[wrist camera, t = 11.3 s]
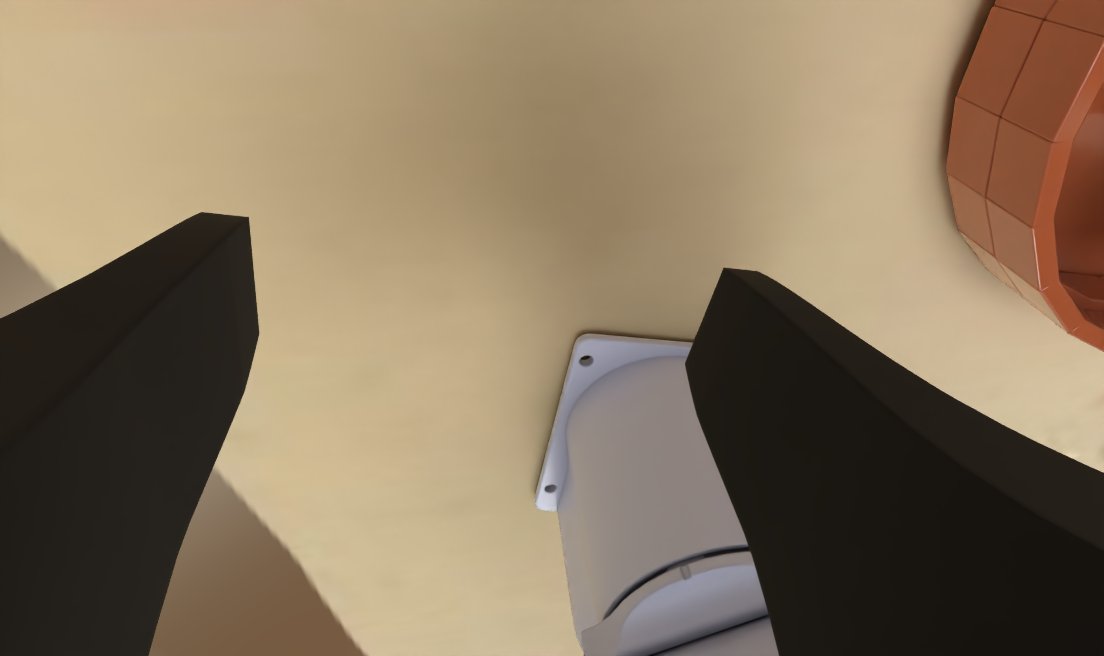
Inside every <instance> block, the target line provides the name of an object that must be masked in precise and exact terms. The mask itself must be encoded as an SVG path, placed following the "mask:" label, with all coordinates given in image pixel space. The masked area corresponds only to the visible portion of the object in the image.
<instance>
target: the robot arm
mask: <svg viewBox="0 0 1104 656" xmlns="http://www.w3.org/2000/svg"><path fill="white" fill-rule="evenodd" d="M258 337H259V325H258V314H257V303H256V292H255V281H254V270H253V259H252V248H251V237H250V226H249V217H242V216H232V215H223V214H214V213H204V212H201V213H198V214H196V215H194V216H192V217H190V218H188V219H186V220H184V221H182V222H181V223H179V224H177V225H175V226H173V227H172V228H170V229H168V230H166V231H165V232H163V233H161V234H159V235H158V236H156V237H154V238H152V239H151V240H149V241H147V242H145V243H144V244H142V245H140V246H139V247H137V248H135V249H133V250H131V251H130V252H128V253H126V254H124V255H123V256H121V257H119V258H117V259H115V260H114V261H112V262H110V263H108V264H107V265H105V266H103V267H101V268H99V269H98V270H96V271H94V272H92V273H90V274H89V275H87V276H85V277H83V278H81V279H79V280H77V281H75V282H73V283H71V284H69V285H67V286H65V287H63V288H61V289H59V290H57V291H55V292H53V293H51V294H49V295H47V296H45V297H43V298H41V299H39V300H37V301H35V302H34V303H31V304H29V305H27V306H25V307H23V308H21V309H19V310H17V311H15V312H13V313H11V314H9V315H7V316H5V317H3V318H0V656H148V655H149V651H150V648H151V644H152V641H153V637H154V633H155V630H156V626H157V623H158V620H159V616H160V613H161V609H162V606H163V603H164V599H165V596H166V593H167V589H168V586H169V582H170V579H171V576H172V572H173V569H174V566H175V562H176V558H177V555H178V553H179V550H180V547H181V545H182V542H183V539H184V536H185V534H186V531H187V528H188V526H189V523H190V521H191V518H192V516H193V514H194V511H195V509H196V506H197V504H198V501H199V499H200V497H201V495H202V492H203V490H204V487H205V485H206V483H207V480H208V478H209V476H210V473H211V471H212V468H213V466H214V464H215V461H216V459H217V457H218V454H219V452H220V450H221V447H222V445H223V442H224V440H225V438H226V435H227V433H228V430H229V428H230V426H231V423H232V421H233V418H234V416H235V414H236V411H237V409H238V406H239V404H240V401H241V399H242V396H243V394H244V391H245V388H246V384H247V380H248V377H249V373H250V369H251V365H252V361H253V357H254V353H255V349H256V345H257V341H258ZM586 355H589V356H591V357H590V358H589V359H587V360H582V359H580V358H581V357H583V356H586ZM551 484H552V485H551ZM548 485H550V486H548ZM535 506H536V507H537V508H538V509H540V510H543V511H558V518H559V525H560V532H561V539H562V546H563V553H564V560H565V567H566V574H567V581H568V588H569V595H570V602H571V609H572V616H573V623H574V628H575V632H576V636H577V639H578V641H579V644H580V646H581V648H582V650H583V652H584V656H1104V473H1103V472H1100V471H1098V470H1096V469H1093V468H1091V467H1089V466H1087V465H1085V464H1082V463H1080V462H1078V461H1076V460H1074V459H1072V458H1070V457H1068V456H1065V455H1063V454H1061V453H1059V452H1057V451H1055V450H1053V449H1051V448H1048V447H1046V446H1044V445H1042V444H1040V443H1038V442H1036V441H1034V440H1032V439H1030V438H1028V437H1026V436H1024V435H1022V434H1020V433H1018V432H1016V431H1014V430H1012V429H1010V428H1008V427H1006V426H1004V425H1002V424H1000V423H998V422H997V421H995V420H993V419H991V418H989V417H988V416H986V415H984V414H982V413H980V412H978V411H977V410H975V409H973V408H971V407H969V406H967V405H966V404H964V403H962V402H960V401H958V400H956V399H955V398H953V397H951V396H950V395H948V394H946V393H945V392H943V391H941V390H939V389H938V388H936V387H934V386H933V385H931V384H930V383H928V382H926V381H925V380H923V379H922V378H920V377H919V376H917V375H915V374H914V373H912V372H911V371H909V370H907V369H906V368H904V367H903V366H901V365H900V364H898V363H896V362H895V361H893V360H892V359H890V358H889V357H887V356H886V355H884V354H883V353H881V352H880V351H878V350H877V349H875V348H874V347H872V346H871V345H869V344H868V343H866V342H865V341H863V340H862V339H860V338H859V337H858V336H856V335H855V334H853V333H852V332H850V331H849V330H847V329H846V328H845V327H843V326H842V325H840V324H839V323H837V322H836V321H834V320H833V319H832V318H830V317H829V316H827V315H826V314H824V313H823V312H822V311H820V310H819V309H817V308H816V307H814V306H813V305H811V304H810V303H809V302H807V301H806V300H804V299H803V298H801V297H800V296H798V295H797V294H795V293H794V292H792V291H791V290H789V289H788V288H786V287H785V286H783V285H781V284H780V283H778V282H777V281H775V280H773V279H771V278H770V277H768V276H766V275H764V274H762V273H760V272H758V271H750V270H740V269H731V268H723V271H722V273H721V276H720V278H719V281H718V283H717V286H716V288H715V290H714V293H713V295H712V298H711V300H710V303H709V305H708V308H707V310H706V313H705V315H704V317H703V320H702V322H701V325H700V327H699V330H698V332H697V335H696V337H695V340H694V342H693V343H690V342H679V341H668V340H657V339H646V338H635V337H624V336H613V335H602V334H584V335H582V336H580V337H579V338H578V339H577V340H576V342H575V344H574V348H573V352H572V355H571V359H570V363H569V367H568V371H567V375H566V378H565V382H564V386H563V390H562V394H561V398H560V402H559V405H558V409H557V413H556V417H555V421H554V425H553V428H552V432H551V436H550V440H549V444H548V448H547V451H546V455H545V459H544V463H543V467H542V471H541V474H540V478H539V482H538V486H537V490H536V494H535Z"/></svg>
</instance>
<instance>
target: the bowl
mask: <svg viewBox="0 0 1104 656" xmlns="http://www.w3.org/2000/svg"><path fill="white" fill-rule="evenodd" d="M994 5H995V6H993V7H992V8H991V10H990V13H989V15H988V18H987V20H986V23H985V25H984V28H983V30H982V33H981V35H980V38H979V40H978V43H977V45H976V48H975V50H974V53H973V55H972V58H971V60H970V63H969V65H968V68H967V70H966V73H965V75H964V78H963V80H962V83H961V85H960V88H959V90H958V93H957V95H958V96H956V98H955V105H954V112H953V120H952V127H951V135H950V142H949V150H948V157H947V165H946V171H947V177H948V182H949V187H950V192H951V197H952V202H953V207H954V212H955V217H956V221H957V226H958V231H959V232H960V233H961V235H962V236H963V237H964V239H965V240H966V242H967V243H968V244H969V246H970V247H971V248H972V250H973V251H974V252H975V254H976V255H977V257H978V258H979V259H980V261H981V262H982V263H983V265H984V266H985V267H986V269H987V270H989V271H990V272H991V273H992V274H994V275H995V276H996V277H997V278H999V279H1000V280H1001V281H1002V282H1004V283H1005V284H1006V285H1007V286H1009V287H1010V288H1011V289H1013V290H1014V291H1015V292H1016V293H1018V294H1019V295H1020V296H1021V297H1023V298H1024V299H1025V300H1027V301H1028V302H1029V303H1030V304H1031V305H1033V306H1034V307H1035V308H1037V309H1038V310H1039V311H1040V312H1042V313H1043V314H1044V315H1045V316H1047V317H1048V318H1049V319H1050V320H1052V321H1053V322H1054V323H1055V324H1057V325H1058V326H1059V327H1061V328H1062V329H1063V330H1064V331H1066V332H1067V333H1068V334H1070V335H1072V336H1074V337H1076V338H1078V339H1080V340H1081V341H1083V342H1085V343H1087V344H1089V345H1091V346H1093V347H1095V348H1097V349H1099V350H1101V351H1103V352H1104V0H996V1H995V3H994Z"/></svg>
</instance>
